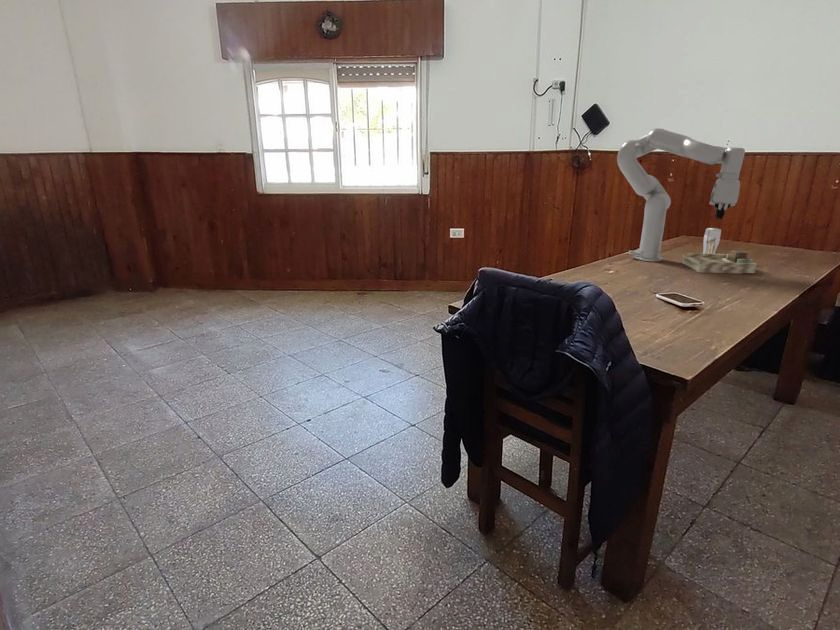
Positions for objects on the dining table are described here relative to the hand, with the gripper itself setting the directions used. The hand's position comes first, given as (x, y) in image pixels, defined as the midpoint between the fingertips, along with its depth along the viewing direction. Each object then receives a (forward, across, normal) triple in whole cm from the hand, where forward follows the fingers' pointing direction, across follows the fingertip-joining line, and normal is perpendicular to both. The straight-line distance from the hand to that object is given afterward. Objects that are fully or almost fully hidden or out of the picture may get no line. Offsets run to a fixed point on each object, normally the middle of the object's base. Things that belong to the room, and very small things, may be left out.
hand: (718, 218), depth 229 cm
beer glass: (+23, +7, +16) cm, 29 cm away
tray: (+22, +3, -3) cm, 23 cm away
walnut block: (+19, +11, -3) cm, 22 cm away
